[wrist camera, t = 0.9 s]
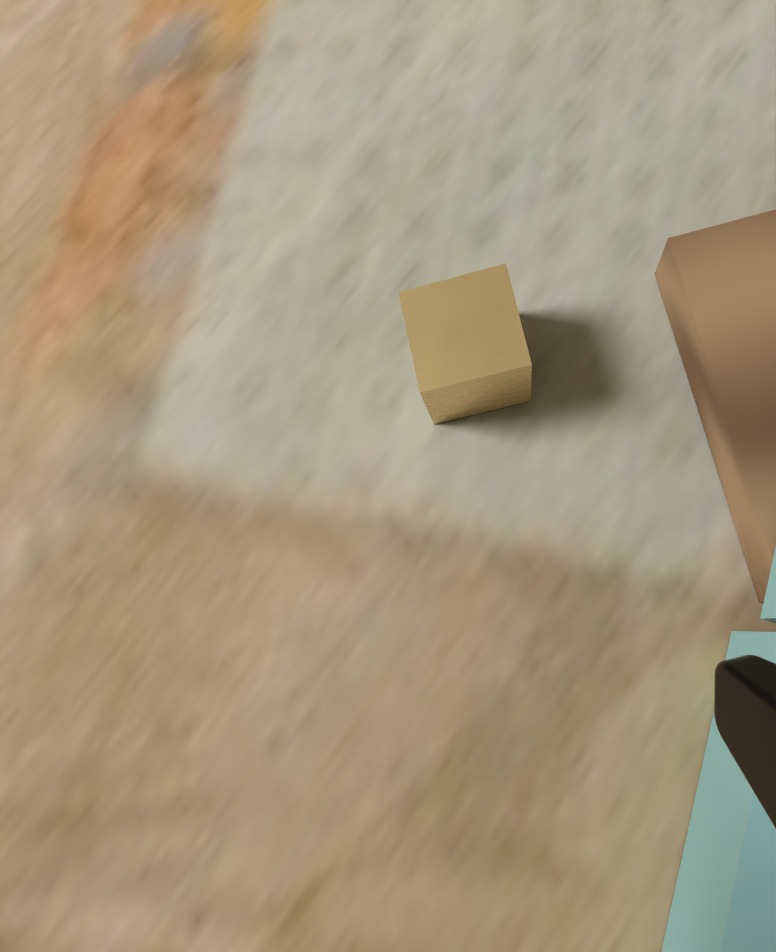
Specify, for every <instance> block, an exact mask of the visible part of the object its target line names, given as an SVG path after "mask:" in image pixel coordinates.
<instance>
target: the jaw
mask: <svg viewBox="0 0 776 952" xmlns="http://www.w3.org/2000/svg"><path fill="white" fill-rule="evenodd" d="M760 619H763V620H767V621H771V622H774V623H776V547H775V552H774V557H773V561H772V566H771V571H770V575H769V580H768V585H767V589H766V594H765V599H764V604H763V608H762V613H761V618H760ZM744 655H755V656H759V657H761V658H764V659H766V660H768V661H771V662H773V663H775V664H776V632H751V631H731V636H730V641H729V645H728V650H727V654H726V659H725V660H729V659H732V658H736V657H740V656H744ZM661 952H776V829H775V827H774V825H773V823H772V822H771V820H770V818H769V817H768V815H767V813H766V812H765V810H764V808H763V807H762V805H761V803H760V802H759V800H758V798H757V796H756V795H755V793H754V791H753V790H752V788H751V786H750V785H749V783H748V781H747V780H746V778H745V776H744V775H743V773H742V771H741V769H740V768H739V766H738V764H737V763H736V761H735V759H734V758H733V756H732V754H731V753H730V751H729V749H728V748H727V746H726V744H725V742H724V741H723V739H722V737H721V735H720V733H719V731H718V728H717V725H716V721H715V715H714V714H713V718H712V723H711V727H710V732H709V736H708V741H707V746H706V750H705V755H704V759H703V764H702V768H701V773H700V778H699V782H698V787H697V791H696V796H695V800H694V805H693V810H692V814H691V819H690V823H689V828H688V832H687V837H686V842H685V846H684V851H683V855H682V860H681V864H680V869H679V873H678V878H677V883H676V887H675V892H674V896H673V901H672V905H671V910H670V915H669V919H668V924H667V928H666V933H665V937H664V942H663V947H662V951H661Z"/></svg>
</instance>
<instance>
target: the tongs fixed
mask: <svg viewBox="0 0 776 952" xmlns="http://www.w3.org/2000/svg"><path fill="white" fill-rule="evenodd" d="M655 276H656V279H657V283H658V286H659V289H660V292H661V295H662V298H663V301H664V305H665V308H666V311H667V314H668V317H669V320H670V323H671V327H672V330H673V333H674V336H675V339H676V342H677V346H678V349H679V352H680V355H681V358H682V361H683V364H684V368H685V371H686V374H687V377H688V380H689V383H690V386H691V390H692V393H693V396H694V399H695V402H696V405H697V408H698V412H699V415H700V418H701V421H702V424H703V427H704V430H705V434H706V437H707V440H708V443H709V446H710V449H711V452H712V456H713V459H714V462H715V465H716V468H717V471H718V474H719V478H720V481H721V484H722V487H723V490H724V493H725V496H726V500H727V503H728V506H729V509H730V512H731V515H732V518H733V522H734V525H735V528H736V531H737V534H738V537H739V540H740V544H741V547H742V550H743V553H744V556H745V559H746V562H747V566H748V569H749V572H750V575H751V578H752V581H753V584H754V588H755V591H756V594H757V597H758V600H759V602H764V599H765V594H766V589H767V585H768V580H769V575H770V571H771V566H772V561H773V557H774V552H775V547H776V210H773V211H769V212H765V213H761V214H758V215H754V216H750V217H746V218H743V219H739V220H735V221H731V222H728V223H724V224H720V225H716V226H712V227H709V228H705V229H701V230H697V231H694V232H690V233H686V234H682V235H679V236H675V237H671V238H668V240H667V242H666V245H665V248H664V251H663V253H662V256H661V259H660V261H659V264H658V267H657V269H656V272H655Z"/></svg>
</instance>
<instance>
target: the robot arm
mask: <svg viewBox="0 0 776 952" xmlns="http://www.w3.org/2000/svg"><path fill="white" fill-rule="evenodd" d="M714 715H715V721H716V725H717V728H718V731H719V733H720V735H721V737H722V739H723V741H724V742H725V744H726V746H727V748H728V749H729V751H730V753H731V754H732V756H733V758H734V759H735V761H736V763H737V764H738V766H739V768H740V769H741V771H742V773H743V775H744V776H745V778H746V780H747V781H748V783H749V785H750V786H751V788H752V790H753V791H754V793H755V795H756V796H757V798H758V800H759V802H760V803H761V805H762V807H763V808H764V810H765V812H766V813H767V815H768V817H769V818H770V820H771V822H772V823H773V825H774V827H775V829H776V664H775V663H773V662H771V661H768V660H766V659H764V658H761V657H759V656H755V655H744V656H740V657H736V658H732V659H729V660H725V661H722V662H720V663H719V664H718V665H717V667H716V669H715V705H714Z"/></svg>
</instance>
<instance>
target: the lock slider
mask: <svg viewBox="0 0 776 952" xmlns="http://www.w3.org/2000/svg"><path fill="white" fill-rule="evenodd" d="M399 296H400V301H401V306H402V310H403V315H404V320H405V324H406V329H407V334H408V338H409V343H410V348H411V353H412V357H413V362H414V367H415V371H416V376H417V381H418V385H419V390H420V394H421V396H422V398H423V400H424V403H425V405H426V407H427V409H428V412H429V414H430V416H431V419H432V421H433V423H434V424H437V423H441V422H445V421H449V420H453V419H458V418H462V417H466V416H470V415H474V414H478V413H483V412H487V411H491V410H495V409H499V408H503V407H507V406H512V405H516V404H520V403H524V402H528V401H531V378H532V363H531V359H530V355H529V351H528V347H527V344H526V340H525V336H524V332H523V328H522V324H521V320H520V317H519V313H518V309H517V305H516V301H515V297H514V293H513V290H512V286H511V282H510V278H509V274H508V270H507V266H506V264H502V265H499V266H495V267H491V268H488V269H484V270H480V271H477V272H473V273H469V274H465V275H462V276H458V277H454V278H451V279H447V280H443V281H440V282H436V283H432V284H428V285H425V286H421V287H417V288H414V289H410V290H406V291H403V292H399Z"/></svg>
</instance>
